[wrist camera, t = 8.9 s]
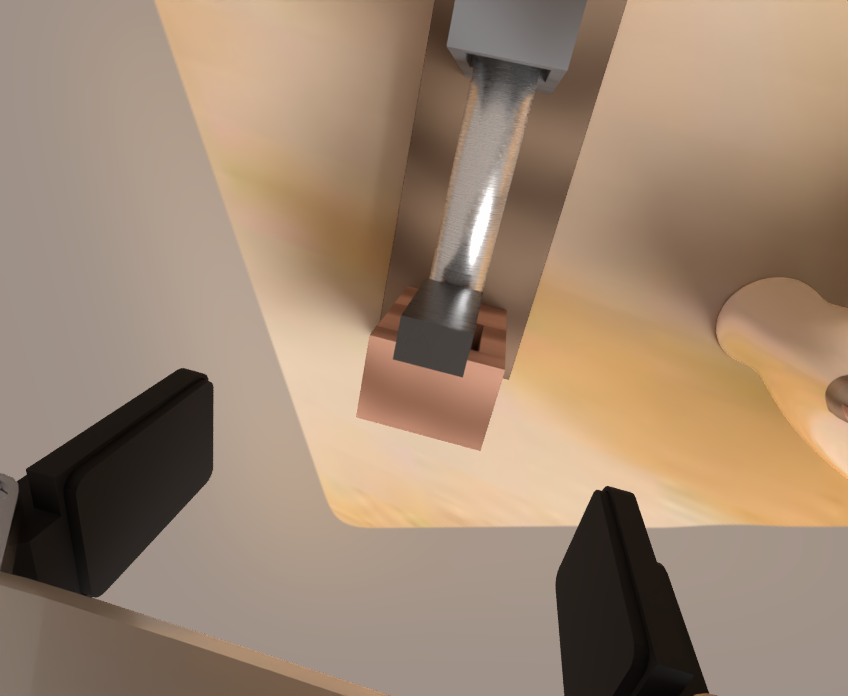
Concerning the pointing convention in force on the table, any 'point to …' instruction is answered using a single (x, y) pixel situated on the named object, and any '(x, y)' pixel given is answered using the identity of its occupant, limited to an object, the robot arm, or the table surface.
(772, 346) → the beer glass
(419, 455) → the table surface
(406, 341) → the tube
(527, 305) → the tube rig
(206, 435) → the robot arm
